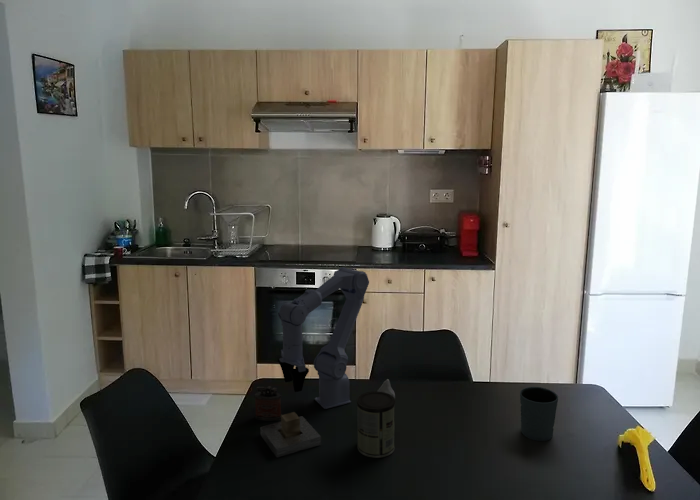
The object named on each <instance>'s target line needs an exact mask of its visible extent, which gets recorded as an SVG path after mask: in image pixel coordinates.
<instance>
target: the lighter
mask: <svg viewBox="0 0 700 500" xmlns="http://www.w3.org/2000/svg"><path fill="white" fill-rule="evenodd" d="M277 389H278V388H277V387H272V386H271V385H268V386H266V387H265V386H257V387H256V393H255V394H254V400H255V402H254V403H255V417H254V418H255V419H256V420H258V421H281V415H282V410H281V409H282V408H281V406H282V405H281V402H282V401H281V398H282V395H281V393H278V392H277V391H278V390H277Z"/></svg>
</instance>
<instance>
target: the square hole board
mask: <svg viewBox="0 0 700 500" xmlns="http://www.w3.org/2000/svg"><path fill="white" fill-rule="evenodd" d="M298 417H299V418H300V435H296V436H293V437H289V438H285V439H284V437H283V436H282V430H281V421H278V422H274V423H270V424H267V425H262V426H260V427H259V429H260V430H259V431H260V437H261V438H262V439H263V440H264V442H265V444H266V445H267V446H268V448H269V449H270V450H271V452H272V453H273V455H274V456H275V457H276V458H280V457H284V456H287V455H291V454H294V453H297V452H301V451H305V450H308V449H311V448H315V447H318V446H321V445H322V436H321V435H320V433H318V431H317V430H316V429H315V428H313V426H312V425H311V424H310V423H309V422H308V421H307V419H306V418H305V417H304V416H301V415H300V416H298Z"/></svg>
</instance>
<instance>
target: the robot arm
mask: <svg viewBox="0 0 700 500" xmlns="http://www.w3.org/2000/svg"><path fill="white" fill-rule="evenodd" d="M369 284H370V280H369V277H368V274H367V273H366V272H365V271H363V270H356V269H352V268H348V267H343V266H341V267H340V268H339V269H337V270H336V271H334V272H333V275H332V276H331V277H330V278H328V279H327V280H326V281H325V282H324V283H322V285H320V286H319V287H318V288H316V289H306V290H305V291H304V293H302V294H300V296H299V297H296V298H294V299H293V300H292V301H290V302H289V301H287V302H285V303H283V304H282V305H281V307H280V309H279V310H278V311H279V312H277V316H278V319H279V320H280V321H281V326H282V349H280V356H281V357H280V358H278V359H277V362H278V363H279V365H280V369H281V371H282V375H283V380H284V383H291V382H292V385H293V386H292V387H293V391H294V392H295V393H297V392H301V391H302V390H303V387H304V384H305V381H306V378H307V375H308V373H309V372H310V370H309V368H308V367H307V366H306V364H305V359H304V356H303V323H304V322H305V321H306V318H307V317H308V316H309V314H311V312H313V311H314V310H315V309H317V308H319V307H320V306H321V305H322V301H323V299H325V298H326V297H328V296H330V295H331V294H333V293H334V292H337V291H338V290H341V292H342V294H343V295H344V297H345V302H344V304H343V306H342V309H341V312H340V314H339V317H338V319H337V322H336V325H335V326H334V329H333V332H332V334H331V337H330V339H329V341H328V342H329V343H328V344H326V345H324V346H322V347H321V348H320V351H319V352H318V353H317V355H316V356H315V357H314V359H313V360H314V361H313V367H314V370H315V371H316V372H317V376H318V391H319V392H318V395H319V396H318V397H315V398H314V400H315V402H317V404H319V405H320V406H321V407H322V408H323V409H324V410H327V409H331V408H335V407H339V406H343V405H346V404H350V403H351V402H352V400H350V398H351V397H350V396H351V395H350V394H351V391H350V378H349V376H348V374H347V373H346V371H347V366H348V365H347V364H348V360H349V357H348V355H347V353H346V351H345V349H346V347H347V344H348V341H349V339H350V336H351V334H352V331H353V329H354V326H355V324H356V321H357V318H358V316H359V313H360V310H361V307H362V306H363V303H364V301H365V295H366V292H367V290H368V287H369Z"/></svg>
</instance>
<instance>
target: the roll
mask: <svg viewBox="0 0 700 500" xmlns="http://www.w3.org/2000/svg"><path fill="white" fill-rule="evenodd" d="M377 392H384V393H388V394H390V395H392V396H393V397H394V398H395V399H396V394H395V393H396V392H395V391H394V390H393V388H392V386H391V381H390V379H388V378H387V379H386V380H384V381H383V383H382V385H380V387H379V388H378V389H377Z"/></svg>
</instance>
